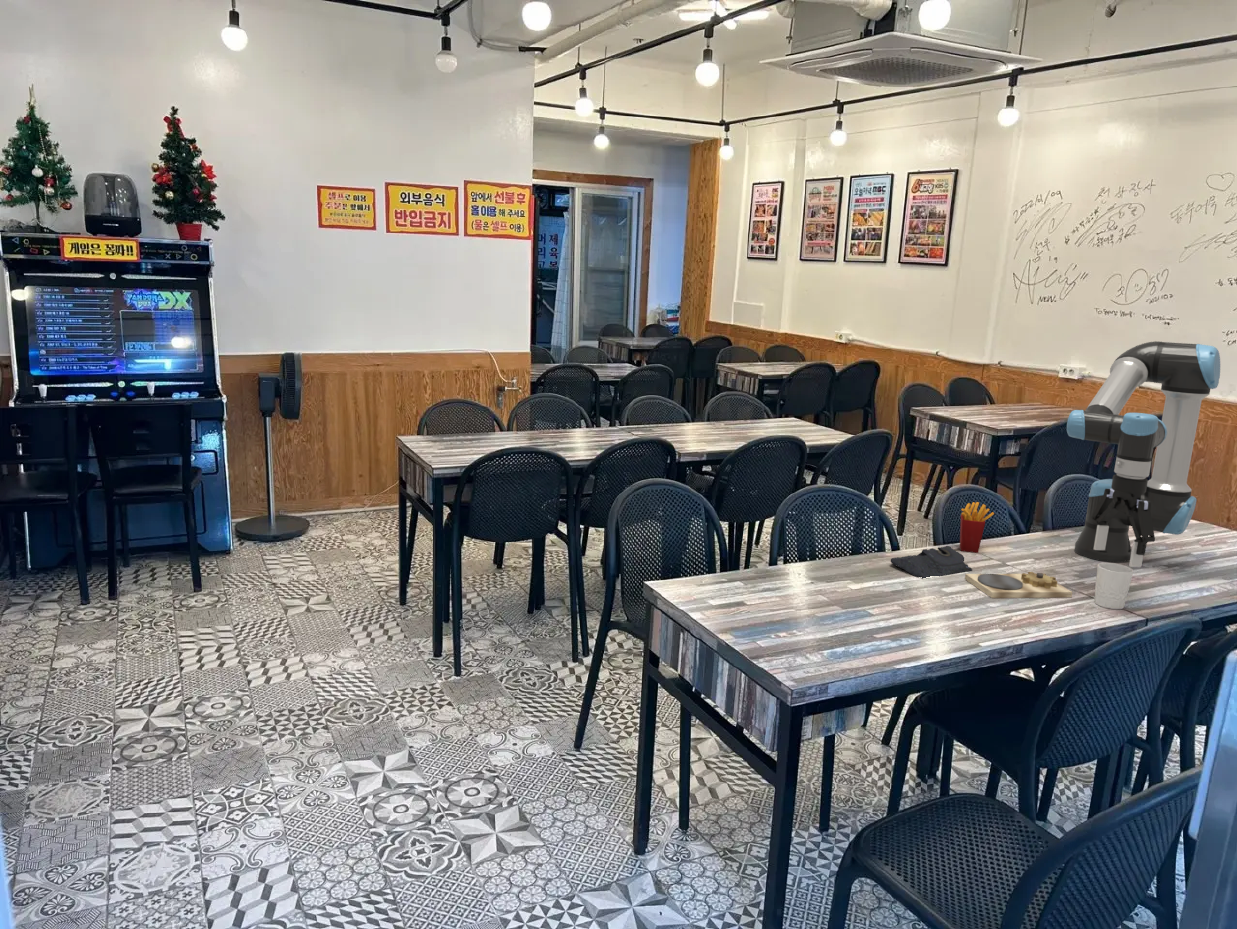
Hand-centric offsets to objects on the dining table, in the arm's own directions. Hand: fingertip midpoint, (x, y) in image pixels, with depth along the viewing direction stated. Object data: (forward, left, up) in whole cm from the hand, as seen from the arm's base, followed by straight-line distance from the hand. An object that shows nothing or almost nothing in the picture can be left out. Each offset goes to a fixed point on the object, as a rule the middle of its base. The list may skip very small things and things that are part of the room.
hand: (1116, 558), depth 220 cm
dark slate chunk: (+34, -30, -13) cm, 47 cm away
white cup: (0, 0, -13) cm, 13 cm away
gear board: (+18, -12, -13) cm, 25 cm away
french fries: (+13, -45, -13) cm, 49 cm away
